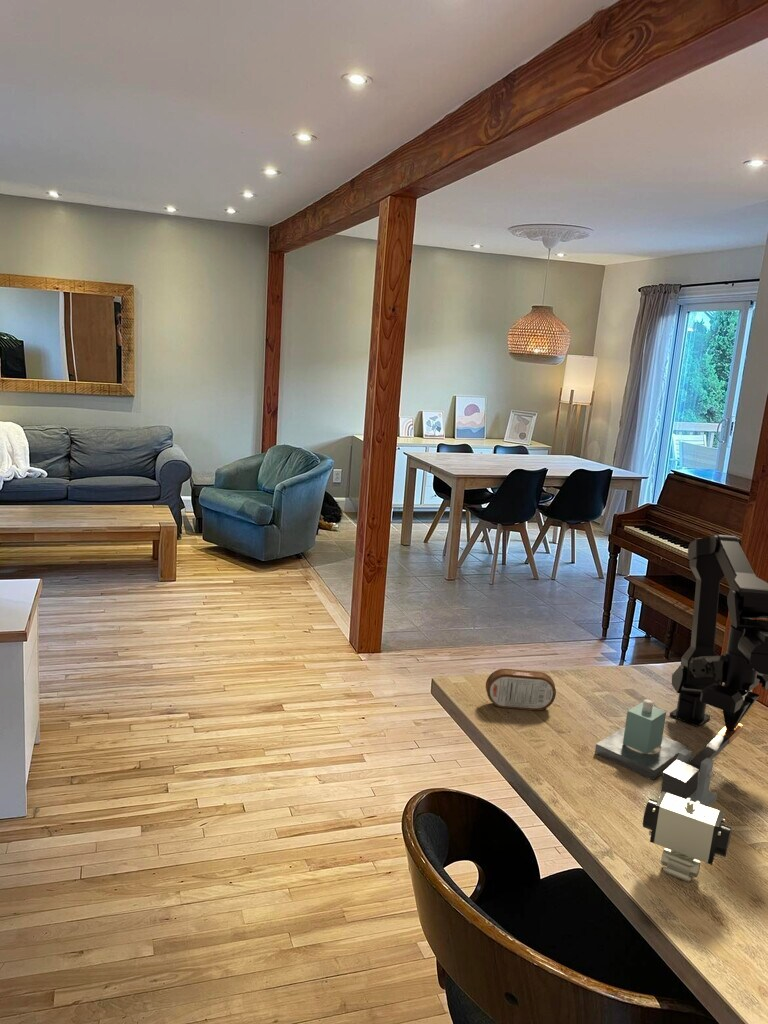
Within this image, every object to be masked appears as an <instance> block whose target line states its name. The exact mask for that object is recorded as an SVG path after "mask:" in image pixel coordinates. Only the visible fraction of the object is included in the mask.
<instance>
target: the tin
mask: <svg viewBox="0 0 768 1024" xmlns="http://www.w3.org/2000/svg"><path fill="white" fill-rule="evenodd" d="M556 689H557V688H556V685H555V682H554V680H553V678H552V677H551V676H550V675H548V674H547V673H545V672H542V671H536V670H525V669H524V670H523V669H514V668H513V669H512V668H500V669H497V670H495V671H493V672H492V673H491V674H490V675H489V676H488V677H487V679H486V683H485V690H486V691H485V692H486V694H487V697H488V699H489V701H490V702H491V703H492V704H493V705H494V706H497V707H499V708H503V709H512V710H513V709H514V710H527V711H543V710H546V709H547V708H549V707H550V706H551V705H552V704H554V701H555V699H556V694H557V691H556Z"/></svg>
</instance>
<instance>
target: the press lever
mask: <svg viewBox="0 0 768 1024" xmlns="http://www.w3.org/2000/svg"><path fill="white" fill-rule="evenodd" d="M743 727H744V725H743V724H742V723H740V722H739V723H738V725H737V726H736V727H735V729H733V730H732V731H730V730H727V729H726V727H725V726H724V727H723V728H722V729H720V731H719V732H718V733H717V734H716V735H715V737H713V739H711V740H710V741H709V742H708V743H707V744H706V745H705V746H704V747H703V748H702V749H701V750H700V751H699V752H698V753H696V755H694V756H693V757H692V758H690V761H689V765H688V764H686V763H684V762H681V761H679V760H676V761H674V762H673V763H672V764H671V765H670V766H669V767H668V768H667V769H666V770H665V771H664V772H663V773H662V777H661V778H662V780H661V788H660V789H661V790H660V794H661V793H662V791H663V792H666V793H669V794H672V795H675V796H678V797H681V798H684V799H687V798H689V797H690V796H691V795H692V794H693V793H694V792H695V791H696V790H697V783H698V777H699V771H700V766H701V762H702V761H703V760H705V759H706V758H709V759H711V760H714V758H716V757H717V756H718V755H719V754H720V753H721V752H722V751H723V750H725V748H726V747H727V746H728V745H730V744H731V743H733V741H734V740H735V739H736V738H737V737H738V736H740V734H741V733H742V732H743V729H744V728H743Z"/></svg>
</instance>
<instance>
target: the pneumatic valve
mask: <svg viewBox="0 0 768 1024" xmlns="http://www.w3.org/2000/svg"><path fill="white" fill-rule="evenodd" d="M657 799H658V800H656V799H652V798H649V799H648V801H647V803H646V806H645V809H644V812H643V813H644V814H643V818H642V827H643V828H644V829H646V830H649V831H648V835H649V836H650V839H649V842H650V843H652V844H655V845H658V846H660V847H662V848H663V851H662V854H661V857H660V859H661V860H660V864H661V865H662V866H664V867H663V869H662V870H663V872H664V873H665V874H667V875H669V876H671V877H674V878H676V879H678V880H682V881H684V882H686V883H689V882H691V881H692V877H693V878H698V877H699V874H700V870H701V862H703V863H705V864H708V865H711V866H713V863H714V862H715V861H714V860H717V857H718V856H720V857H724V858H726V857H727V854H728V851H729V846H730V842H731V836H732V830H733V827H732V826H730V825H727V824H725V822H726V819H725V818H724V813H725V812H724V811H721V810H718V809H716V808H713V807H710V806H709V807H707V806H704V805H701V804H700V802H699V801H696V802H693V801H691V799H690V798H687V799H684V798H681V797H678V796H675V795H672V794H669V793H666V792H663V791H662V793H661V792H660V796H658V798H657Z"/></svg>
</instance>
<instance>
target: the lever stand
mask: <svg viewBox="0 0 768 1024" xmlns="http://www.w3.org/2000/svg"><path fill="white" fill-rule="evenodd" d="M691 757H692V750H689V749H688V748H687V749H683V750H682V751H681V752H679V755H678V757H677V759H676V760H679V761H681V762H684V763H686V764H688V765H689V761H690V760H691ZM713 767H714V759H713V760H711V759H709V758H706V759H705V760H703V761H702V762H701V766H700V771H699V775H698V783H697V790H696V791H695V792H694V793H693V794H692V795H691V796H690V797H689V798H690V799H691V801H693V802H696V801H699V802H700V804H701V805H704V806H707V807H710V806H711V805H712V804H714V803H715V802H716V800H717V796H718V794H717V793H716V792H712V791H711V790H710V784H711V778H713V775H714V770H713Z"/></svg>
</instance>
